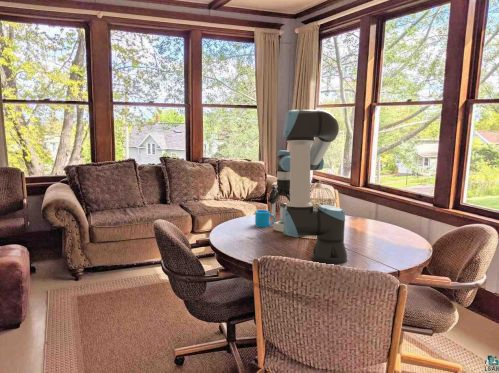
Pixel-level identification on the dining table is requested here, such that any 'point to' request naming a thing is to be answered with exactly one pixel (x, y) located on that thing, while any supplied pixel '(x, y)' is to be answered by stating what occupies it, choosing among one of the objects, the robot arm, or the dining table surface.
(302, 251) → the dining table surface
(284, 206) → the pin
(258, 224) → the mug
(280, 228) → the mount
